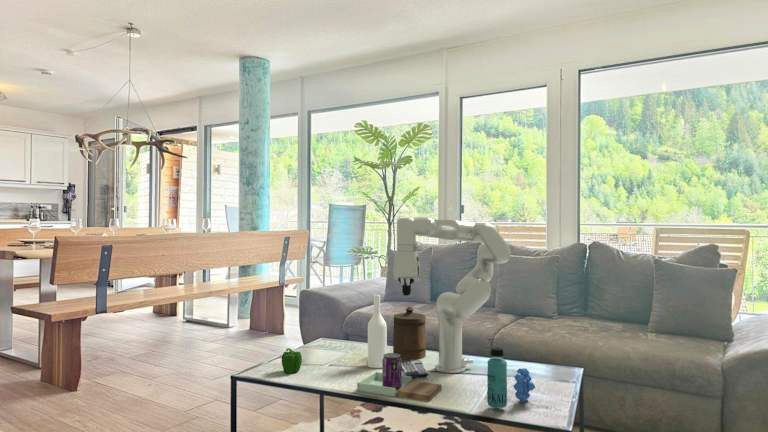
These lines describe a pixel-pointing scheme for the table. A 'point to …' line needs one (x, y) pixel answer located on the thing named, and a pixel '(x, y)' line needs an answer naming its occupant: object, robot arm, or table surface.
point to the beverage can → (392, 370)
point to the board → (419, 390)
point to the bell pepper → (291, 361)
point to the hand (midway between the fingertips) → (406, 295)
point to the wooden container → (409, 335)
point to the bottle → (377, 336)
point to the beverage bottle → (497, 380)
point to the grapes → (523, 384)
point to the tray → (379, 385)
